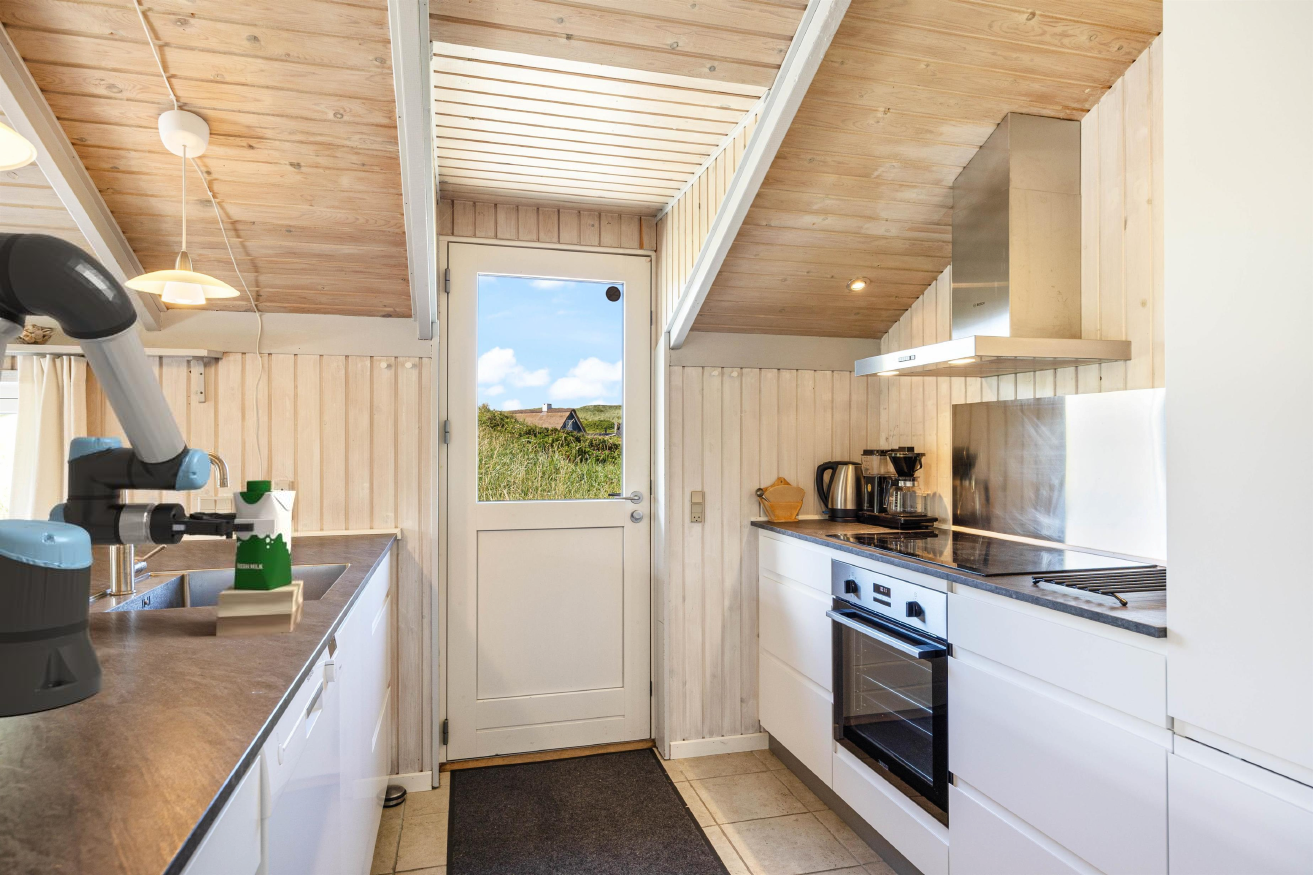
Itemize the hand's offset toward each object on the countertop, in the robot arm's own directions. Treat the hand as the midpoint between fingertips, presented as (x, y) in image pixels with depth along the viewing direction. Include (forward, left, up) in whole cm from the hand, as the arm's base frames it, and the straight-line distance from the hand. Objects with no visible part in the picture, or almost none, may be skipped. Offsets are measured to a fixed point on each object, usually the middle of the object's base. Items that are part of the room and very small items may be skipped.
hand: (283, 522), depth 138 cm
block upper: (-1, +3, -16) cm, 16 cm away
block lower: (0, +3, -20) cm, 20 cm away
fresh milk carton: (0, +3, -12) cm, 12 cm away
